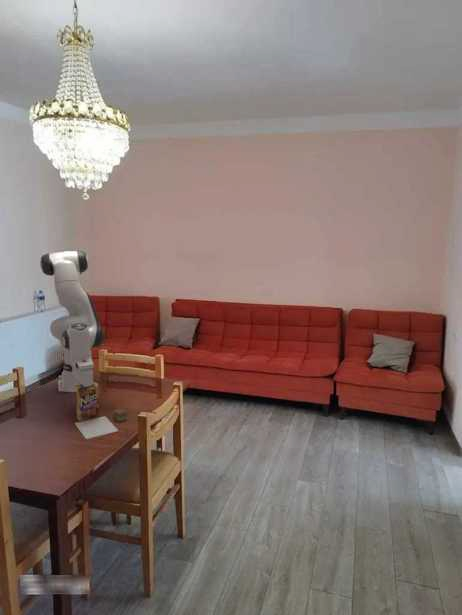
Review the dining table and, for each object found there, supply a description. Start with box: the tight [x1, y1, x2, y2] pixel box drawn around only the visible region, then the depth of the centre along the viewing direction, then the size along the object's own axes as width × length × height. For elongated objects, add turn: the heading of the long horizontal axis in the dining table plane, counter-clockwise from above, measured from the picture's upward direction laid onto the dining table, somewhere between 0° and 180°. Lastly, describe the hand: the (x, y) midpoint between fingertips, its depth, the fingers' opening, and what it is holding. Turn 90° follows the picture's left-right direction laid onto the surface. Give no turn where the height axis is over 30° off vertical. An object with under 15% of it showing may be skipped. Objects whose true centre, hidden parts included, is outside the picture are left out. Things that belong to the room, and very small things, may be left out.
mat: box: [74, 415, 119, 440], centre depth 179 cm, size 17×13×1 cm
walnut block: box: [112, 408, 127, 423], centre depth 187 cm, size 4×4×4 cm
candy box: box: [75, 381, 100, 422], centre depth 187 cm, size 9×4×15 cm, turn 123°
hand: (82, 390), depth 191 cm, fingers closed
